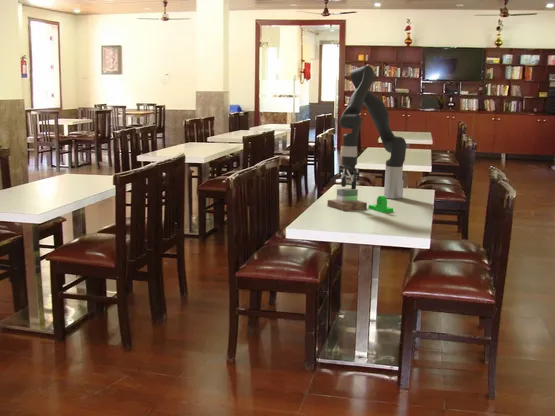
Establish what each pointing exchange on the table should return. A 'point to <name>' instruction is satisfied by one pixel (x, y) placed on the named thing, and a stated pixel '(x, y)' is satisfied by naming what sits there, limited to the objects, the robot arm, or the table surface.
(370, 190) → the table surface
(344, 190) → the block
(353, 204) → the walnut stand
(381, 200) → the mechanical part
